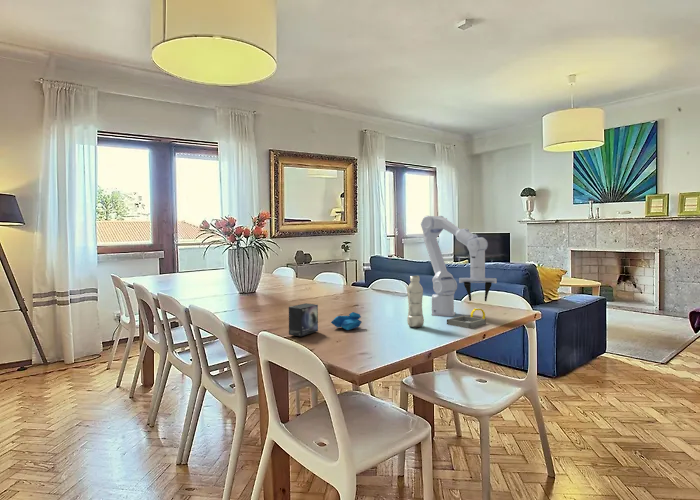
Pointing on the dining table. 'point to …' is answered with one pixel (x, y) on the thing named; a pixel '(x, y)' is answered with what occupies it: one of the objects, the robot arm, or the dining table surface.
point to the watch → (478, 309)
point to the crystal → (347, 321)
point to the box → (459, 322)
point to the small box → (303, 319)
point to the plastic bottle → (415, 303)
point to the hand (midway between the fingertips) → (477, 300)
